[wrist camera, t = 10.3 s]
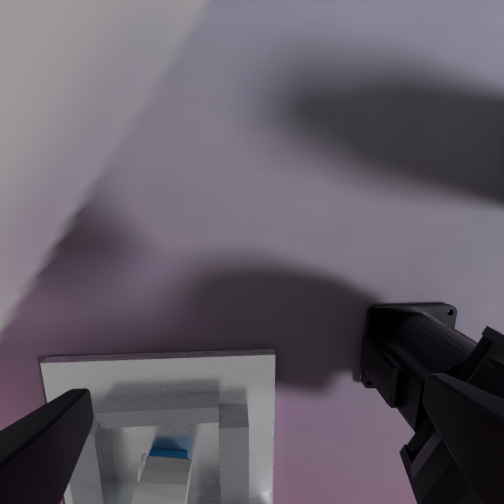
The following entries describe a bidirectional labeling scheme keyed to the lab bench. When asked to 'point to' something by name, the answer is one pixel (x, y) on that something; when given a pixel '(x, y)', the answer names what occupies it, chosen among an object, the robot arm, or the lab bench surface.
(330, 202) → the lab bench surface
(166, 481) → the electric motor
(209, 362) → the grey metal assembly fixture
